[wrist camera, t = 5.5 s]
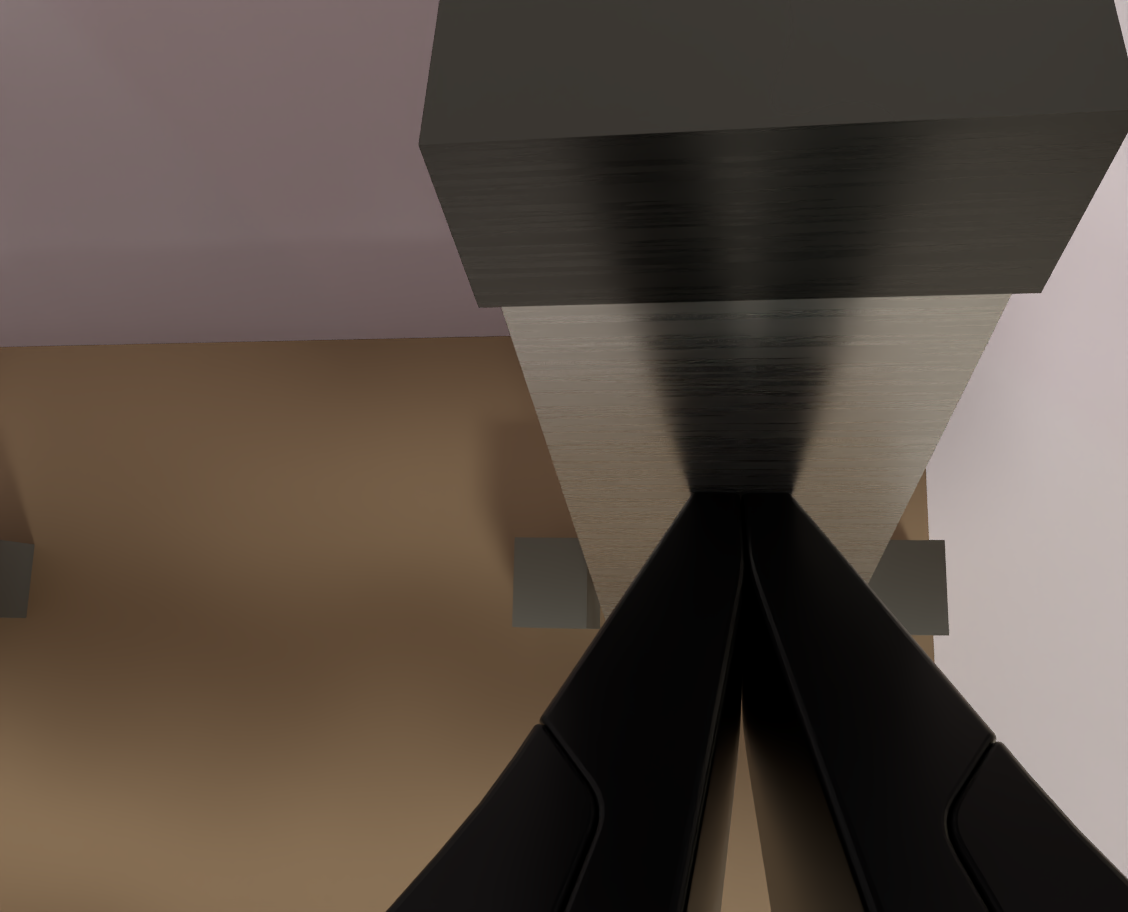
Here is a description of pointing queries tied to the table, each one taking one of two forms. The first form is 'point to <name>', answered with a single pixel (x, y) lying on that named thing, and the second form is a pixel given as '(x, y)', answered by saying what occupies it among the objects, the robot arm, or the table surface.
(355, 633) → the switch box
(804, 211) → the lever
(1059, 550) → the table surface
